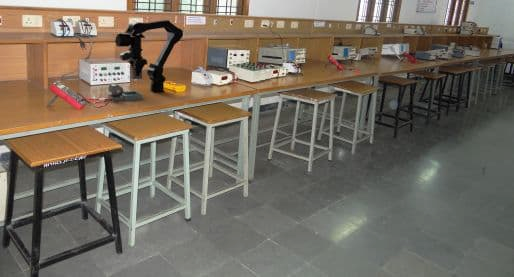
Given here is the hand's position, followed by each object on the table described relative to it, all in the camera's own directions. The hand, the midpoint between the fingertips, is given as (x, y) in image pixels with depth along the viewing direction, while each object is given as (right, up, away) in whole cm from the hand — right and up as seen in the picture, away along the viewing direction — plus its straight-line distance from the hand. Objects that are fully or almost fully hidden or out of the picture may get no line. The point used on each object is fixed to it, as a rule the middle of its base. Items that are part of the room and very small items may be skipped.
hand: (136, 75), depth 230 cm
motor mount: (-3, -14, -10) cm, 17 cm away
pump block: (0, -2, 0) cm, 2 cm away
